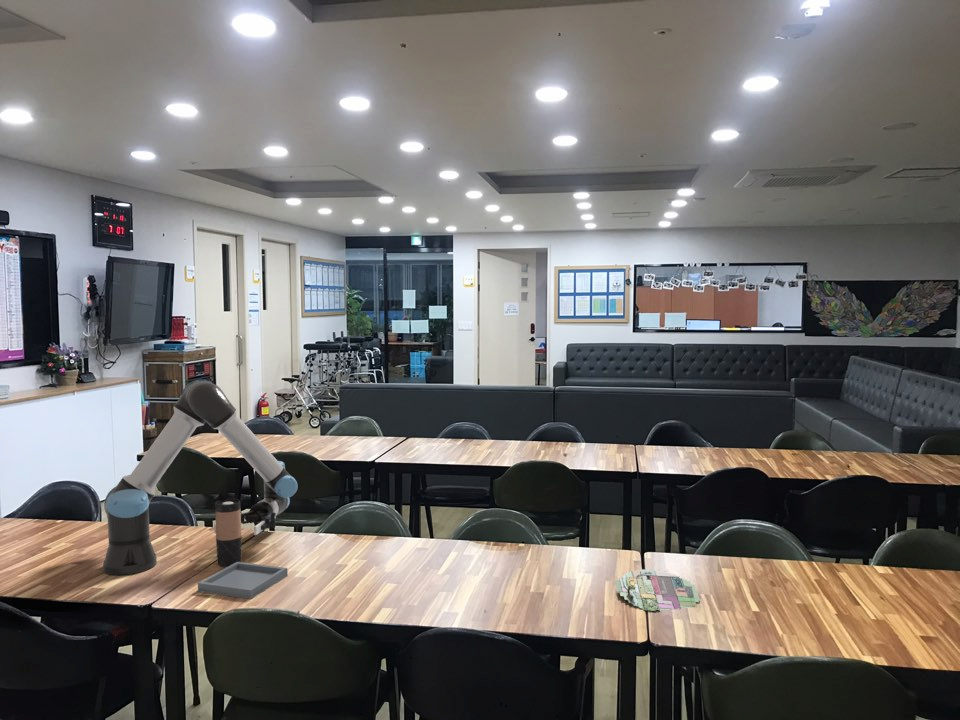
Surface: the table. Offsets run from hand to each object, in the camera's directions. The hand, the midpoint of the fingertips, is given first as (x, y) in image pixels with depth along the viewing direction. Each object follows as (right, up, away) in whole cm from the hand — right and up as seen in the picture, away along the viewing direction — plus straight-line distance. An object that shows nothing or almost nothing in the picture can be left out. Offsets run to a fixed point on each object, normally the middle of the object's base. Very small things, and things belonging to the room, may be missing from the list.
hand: (235, 530), depth 228 cm
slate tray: (+9, -11, -19) cm, 24 cm away
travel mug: (-1, -10, -2) cm, 11 cm away
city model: (+129, -12, -29) cm, 133 cm away
